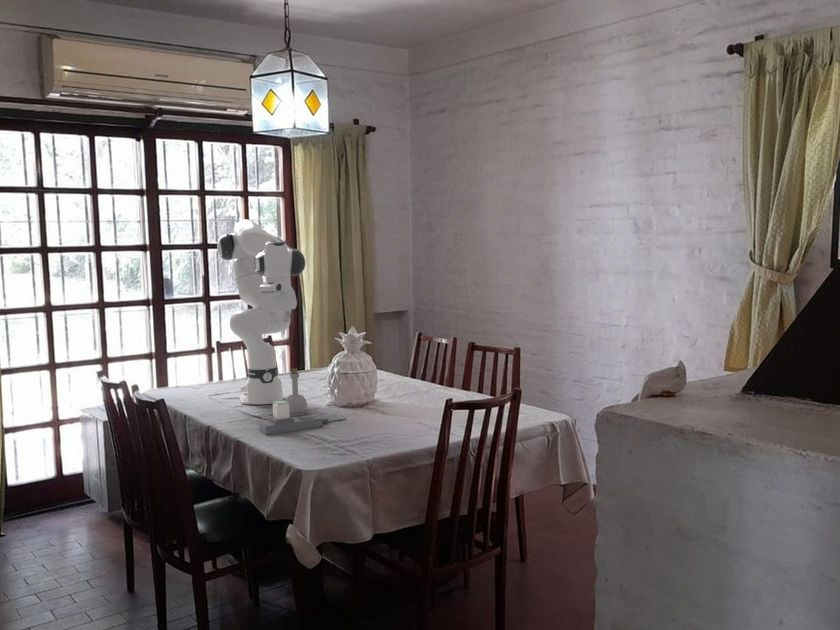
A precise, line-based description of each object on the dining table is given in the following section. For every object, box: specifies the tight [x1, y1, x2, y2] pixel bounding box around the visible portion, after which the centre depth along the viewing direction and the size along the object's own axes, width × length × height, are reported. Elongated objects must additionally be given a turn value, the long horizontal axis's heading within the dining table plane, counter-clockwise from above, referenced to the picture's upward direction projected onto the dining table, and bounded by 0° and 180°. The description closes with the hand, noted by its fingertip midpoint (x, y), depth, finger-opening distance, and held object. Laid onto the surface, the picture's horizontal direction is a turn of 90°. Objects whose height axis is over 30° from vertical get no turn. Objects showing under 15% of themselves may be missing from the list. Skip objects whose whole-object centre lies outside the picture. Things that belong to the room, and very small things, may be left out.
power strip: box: [259, 414, 328, 436], centre depth 282 cm, size 7×25×4 cm, turn 119°
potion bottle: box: [284, 367, 308, 417], centre depth 303 cm, size 9×9×18 cm
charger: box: [272, 399, 290, 420], centre depth 279 cm, size 4×4×7 cm
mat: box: [318, 412, 347, 424], centre depth 294 cm, size 10×10×1 cm
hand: (280, 323), depth 288 cm, fingers open, 8 cm apart
